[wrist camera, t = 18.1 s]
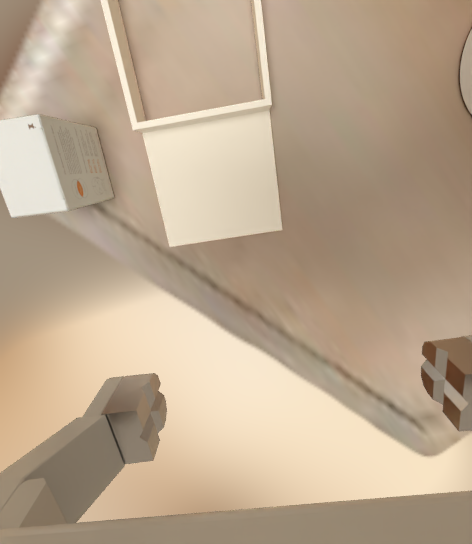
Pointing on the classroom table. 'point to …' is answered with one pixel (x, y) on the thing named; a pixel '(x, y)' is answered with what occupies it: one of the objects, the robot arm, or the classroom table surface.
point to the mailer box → (207, 154)
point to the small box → (50, 166)
